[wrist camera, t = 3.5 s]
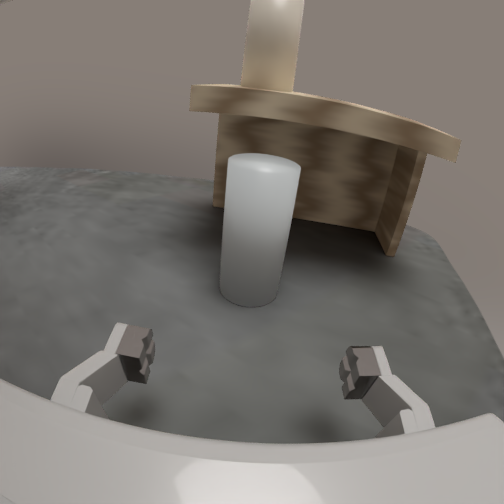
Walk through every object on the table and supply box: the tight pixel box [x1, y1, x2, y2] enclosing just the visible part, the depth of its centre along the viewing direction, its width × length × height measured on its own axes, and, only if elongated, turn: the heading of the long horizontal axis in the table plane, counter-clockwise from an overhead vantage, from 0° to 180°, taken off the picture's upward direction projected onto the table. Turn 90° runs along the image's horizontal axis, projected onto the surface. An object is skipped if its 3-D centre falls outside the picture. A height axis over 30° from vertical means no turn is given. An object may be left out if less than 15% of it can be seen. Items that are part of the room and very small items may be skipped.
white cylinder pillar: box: [219, 153, 301, 307], centre depth 21 cm, size 5×5×10 cm
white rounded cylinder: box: [240, 0, 304, 93], centre depth 21 cm, size 5×5×10 cm
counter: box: [189, 84, 461, 257], centre depth 27 cm, size 21×12×14 cm, turn 84°
